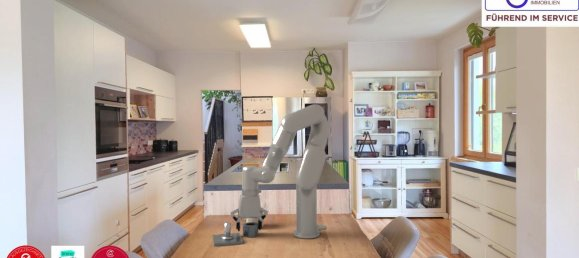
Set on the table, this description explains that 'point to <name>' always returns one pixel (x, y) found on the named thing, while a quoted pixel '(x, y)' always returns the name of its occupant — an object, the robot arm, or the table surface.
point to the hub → (250, 229)
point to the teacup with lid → (253, 219)
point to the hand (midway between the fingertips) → (249, 229)
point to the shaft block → (227, 237)
